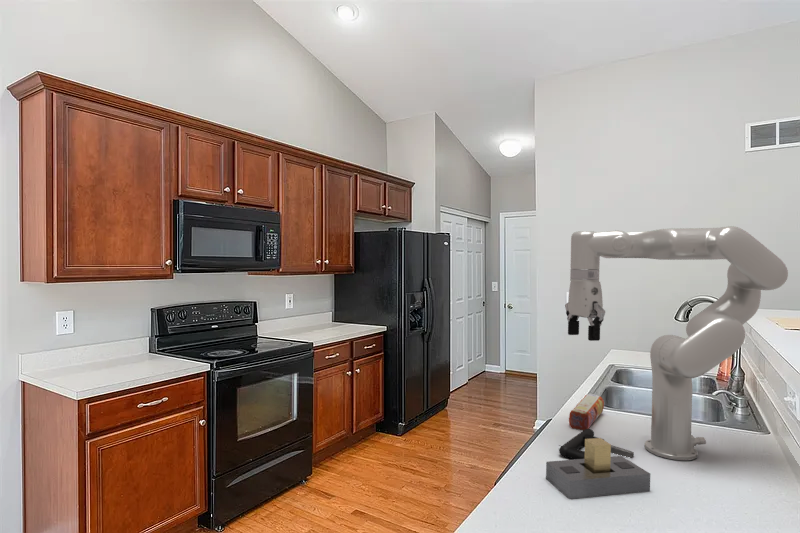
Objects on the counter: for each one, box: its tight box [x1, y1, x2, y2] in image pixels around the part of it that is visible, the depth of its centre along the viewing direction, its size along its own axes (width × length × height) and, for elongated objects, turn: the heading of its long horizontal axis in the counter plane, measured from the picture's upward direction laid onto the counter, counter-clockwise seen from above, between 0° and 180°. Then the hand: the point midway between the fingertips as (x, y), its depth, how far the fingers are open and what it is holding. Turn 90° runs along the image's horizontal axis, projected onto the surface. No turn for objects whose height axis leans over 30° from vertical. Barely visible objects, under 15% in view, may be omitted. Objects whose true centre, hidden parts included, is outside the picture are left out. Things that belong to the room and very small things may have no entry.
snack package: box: [568, 393, 605, 432], centre depth 156 cm, size 21×7×7 cm, turn 146°
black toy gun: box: [558, 428, 635, 460], centre depth 130 cm, size 3×20×16 cm
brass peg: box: [584, 437, 612, 474], centre depth 111 cm, size 4×4×10 cm
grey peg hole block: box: [545, 455, 651, 500], centre depth 111 cm, size 20×10×4 cm, turn 102°
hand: (583, 337), depth 135 cm, fingers open, 9 cm apart
